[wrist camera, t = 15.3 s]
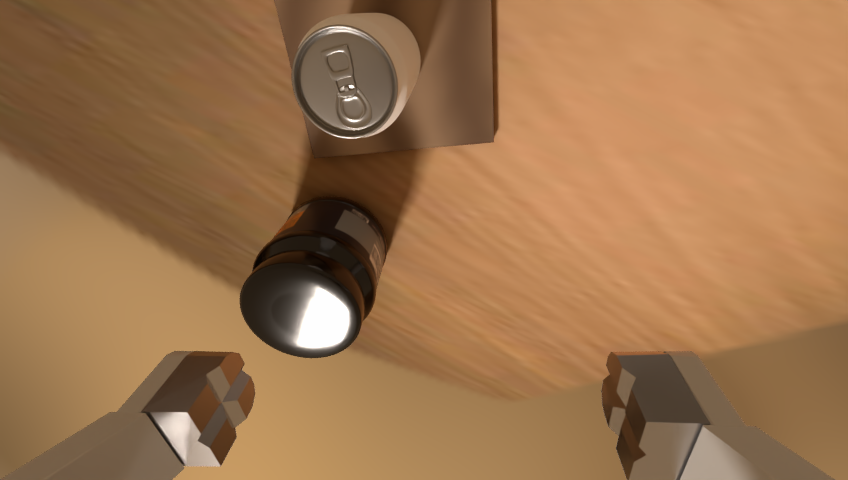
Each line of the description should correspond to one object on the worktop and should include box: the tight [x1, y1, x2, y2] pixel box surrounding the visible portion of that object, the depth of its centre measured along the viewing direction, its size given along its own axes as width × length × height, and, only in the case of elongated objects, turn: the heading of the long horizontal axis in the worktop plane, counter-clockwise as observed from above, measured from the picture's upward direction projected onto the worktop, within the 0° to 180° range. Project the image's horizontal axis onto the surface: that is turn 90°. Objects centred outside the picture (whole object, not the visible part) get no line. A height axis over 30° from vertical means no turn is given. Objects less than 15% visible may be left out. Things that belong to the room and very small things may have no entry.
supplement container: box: [240, 196, 387, 358], centre depth 35 cm, size 10×10×12 cm
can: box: [292, 13, 421, 139], centre depth 25 cm, size 6×6×12 cm
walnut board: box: [274, 0, 494, 158], centre depth 31 cm, size 16×16×1 cm
